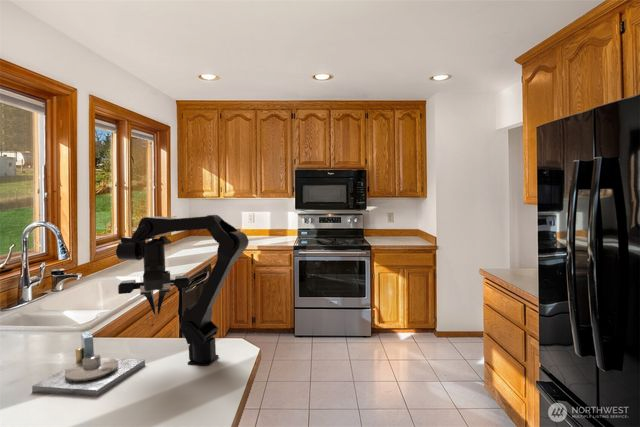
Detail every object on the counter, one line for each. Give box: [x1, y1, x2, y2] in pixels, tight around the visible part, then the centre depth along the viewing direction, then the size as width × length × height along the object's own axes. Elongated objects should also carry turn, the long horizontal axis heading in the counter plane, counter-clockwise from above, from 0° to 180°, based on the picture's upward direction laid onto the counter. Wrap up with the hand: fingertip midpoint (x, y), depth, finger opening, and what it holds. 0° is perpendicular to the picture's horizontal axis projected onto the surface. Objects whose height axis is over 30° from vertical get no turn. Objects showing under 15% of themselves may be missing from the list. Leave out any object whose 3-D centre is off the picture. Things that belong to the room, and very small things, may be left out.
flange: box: [65, 331, 118, 381], centre depth 104 cm, size 14×12×8 cm
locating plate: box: [31, 347, 146, 398], centre depth 103 cm, size 18×18×6 cm
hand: (156, 313), depth 115 cm, fingers closed
